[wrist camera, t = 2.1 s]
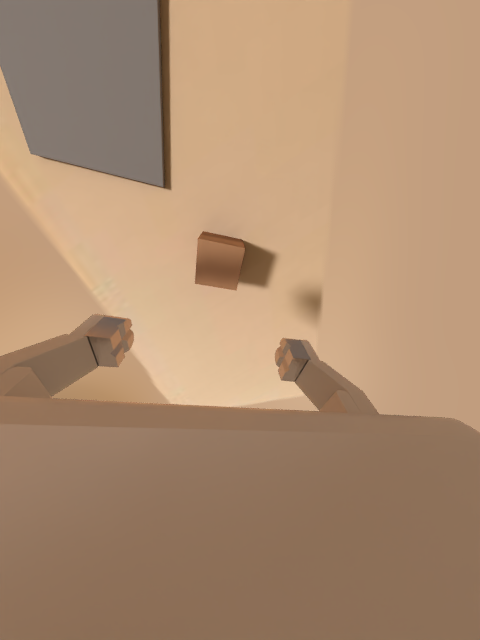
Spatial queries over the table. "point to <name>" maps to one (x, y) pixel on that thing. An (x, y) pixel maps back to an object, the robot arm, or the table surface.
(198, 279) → the walnut cube
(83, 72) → the slate pad
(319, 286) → the table surface
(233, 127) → the table surface
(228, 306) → the table surface
